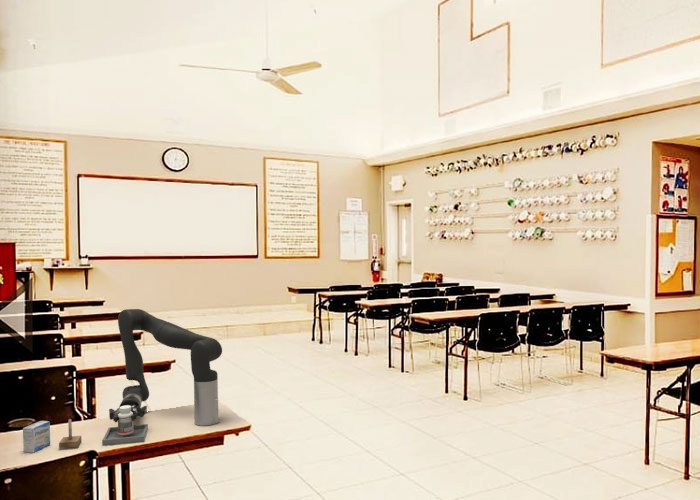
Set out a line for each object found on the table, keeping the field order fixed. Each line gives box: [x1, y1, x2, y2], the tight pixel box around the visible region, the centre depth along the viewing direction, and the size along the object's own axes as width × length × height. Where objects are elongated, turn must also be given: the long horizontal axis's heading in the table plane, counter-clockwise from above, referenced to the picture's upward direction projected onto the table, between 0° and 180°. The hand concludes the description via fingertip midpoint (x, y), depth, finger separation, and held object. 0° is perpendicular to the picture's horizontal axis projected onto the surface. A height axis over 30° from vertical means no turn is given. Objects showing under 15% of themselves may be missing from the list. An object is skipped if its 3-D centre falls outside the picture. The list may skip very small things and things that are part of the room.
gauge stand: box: [58, 418, 82, 451], centre depth 197 cm, size 6×6×10 cm
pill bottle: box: [117, 405, 134, 435], centre depth 205 cm, size 5×5×10 cm
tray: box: [101, 423, 149, 447], centre depth 206 cm, size 14×14×2 cm
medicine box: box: [22, 420, 51, 454], centre depth 195 cm, size 8×4×9 cm, turn 168°
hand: (124, 418), depth 203 cm, fingers closed on pill bottle, 5 cm apart
